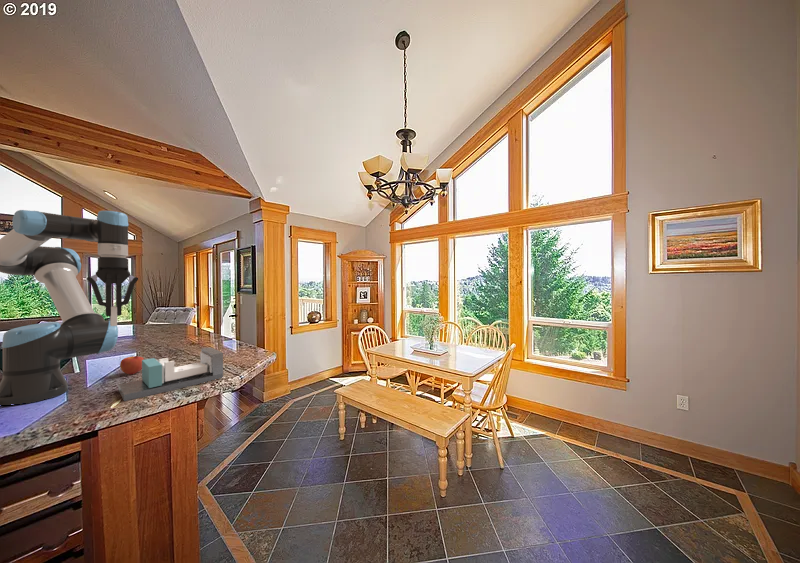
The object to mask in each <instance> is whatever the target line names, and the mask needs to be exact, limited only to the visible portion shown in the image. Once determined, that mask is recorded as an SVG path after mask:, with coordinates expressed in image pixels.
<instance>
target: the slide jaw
mask: <svg viewBox="0 0 800 563" xmlns="http://www.w3.org/2000/svg"><path fill="white" fill-rule="evenodd" d="M141 380H143V381H144V383H145V384H146V385H147V386H148V388H152V387H157V386H161V385H162V383H164V365H163V364H161V363H160V362H159V359H157V358H154V357H153V358H147V359H144V360H142V369H141Z"/></svg>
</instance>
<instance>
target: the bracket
mask: <svg viewBox="0 0 800 563" xmlns="http://www.w3.org/2000/svg"><path fill="white" fill-rule="evenodd" d="M158 361H159V362H160V363H161V364H163V365H164V382H166V381H171V380H175V379H180V378H184V377H188V376H193V375H197V374H201V373H206V372H207V365H205V364H203V363H200V362H193V363H189V364H184V365H179V366H175V360H170V361H169V357H165V358H163V357H162V358H160V359H158Z"/></svg>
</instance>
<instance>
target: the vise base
mask: <svg viewBox="0 0 800 563" xmlns="http://www.w3.org/2000/svg"><path fill="white" fill-rule="evenodd" d="M222 377H223V378H224V373H223V374H218V375H214V376H213V375H211V374H210V373H208V372H206V373H201V374H197V375H193V376H188V377H184V378H180V379H175V380H171V381H166V382H164V383H162V385H161V386H157V387H152V388H148V386H147V385H146V384H145V383H144V381H143V380H142V379H140V380H133V381H129V382H125V383H123V382H122V383H118V386H117V387H118V392H119V395H120V396H121V398H122V400H123V402H127V401H131V400H135V399H140V398H145V397H148V396H154V395H157V394H162V393H166V392H170V391H171V392H172V391H174V390H179V389H183V387H184V388H188V387H187V386H189V387H193V386H196V385H201V384H200V383H202V384H205V383H204V382H206V383H208V382H207V381H210V382H212V381H211V380H215V379H219V378H222ZM219 380H220V379H219ZM215 381H216V380H215ZM192 385H193V386H192Z"/></svg>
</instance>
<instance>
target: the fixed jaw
mask: <svg viewBox="0 0 800 563" xmlns="http://www.w3.org/2000/svg"><path fill="white" fill-rule="evenodd" d="M200 350H201V351H200V363H203V364H205V365H207V372H208V373H210V374H211V375H213V376H214V375H218V374H223V375H224V352H222V351H219V350H218V349H215V348H214V347H210V346H209V347H202V348H200Z"/></svg>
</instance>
